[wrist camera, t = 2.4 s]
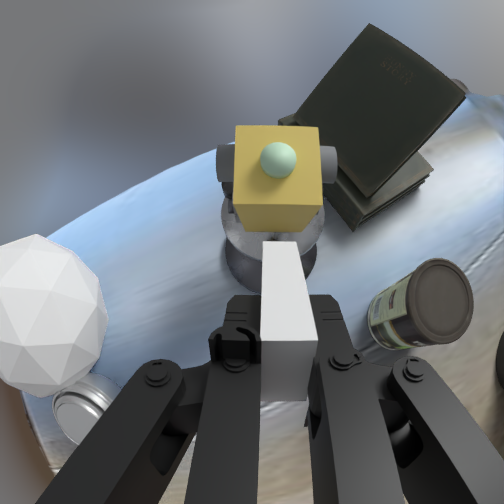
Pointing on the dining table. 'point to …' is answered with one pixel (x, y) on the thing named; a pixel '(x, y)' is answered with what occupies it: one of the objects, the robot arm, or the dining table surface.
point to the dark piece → (377, 122)
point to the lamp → (53, 331)
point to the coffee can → (423, 307)
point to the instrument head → (276, 175)
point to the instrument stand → (251, 243)
